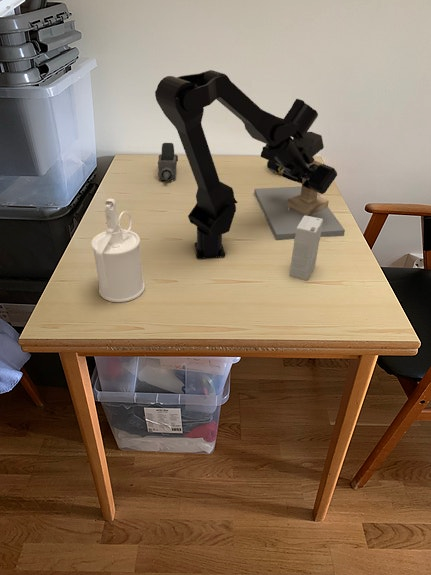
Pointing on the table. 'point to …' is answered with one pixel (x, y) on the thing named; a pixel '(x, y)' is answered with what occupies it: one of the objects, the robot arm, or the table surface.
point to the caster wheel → (167, 162)
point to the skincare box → (305, 247)
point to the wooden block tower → (308, 200)
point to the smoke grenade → (118, 259)
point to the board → (291, 213)
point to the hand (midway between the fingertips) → (313, 185)
